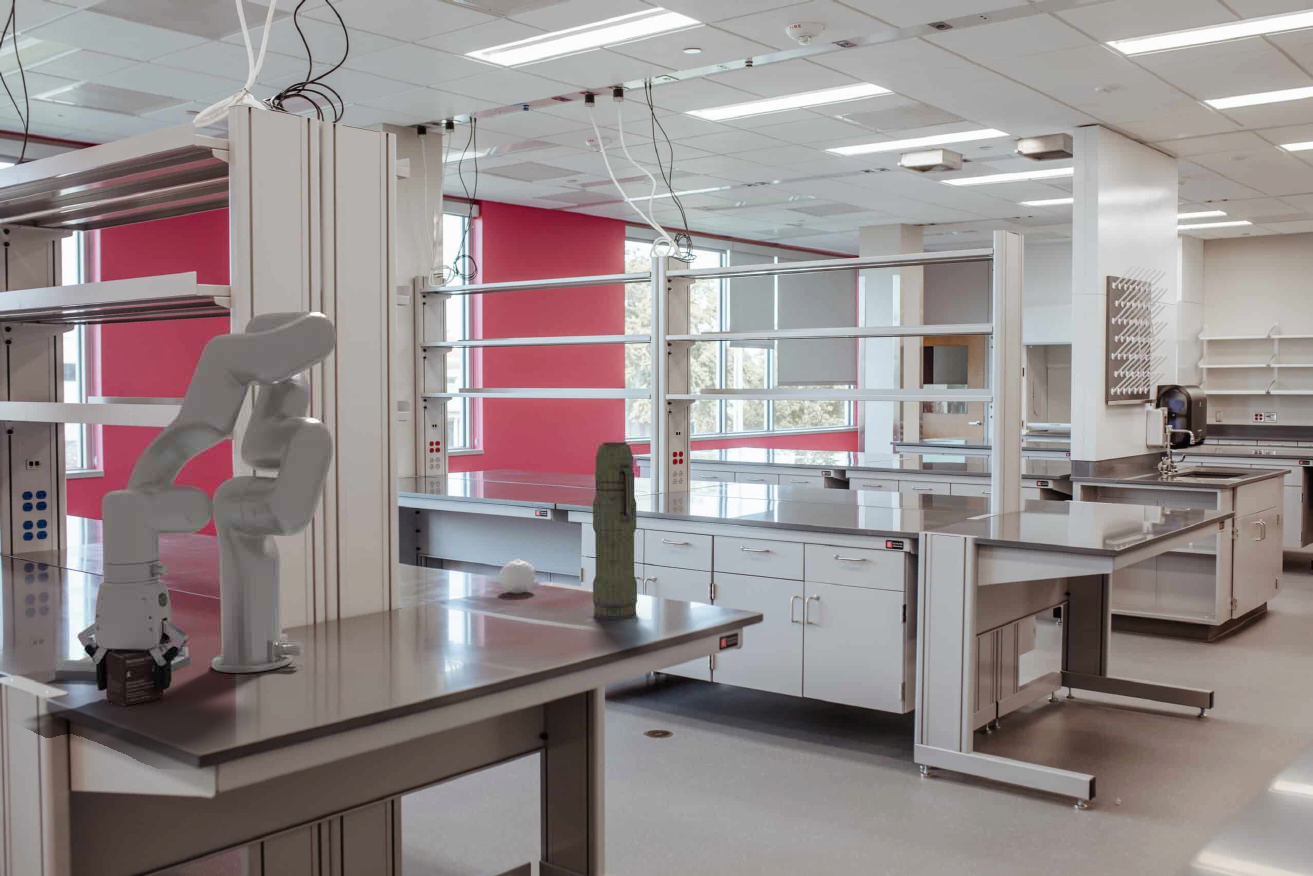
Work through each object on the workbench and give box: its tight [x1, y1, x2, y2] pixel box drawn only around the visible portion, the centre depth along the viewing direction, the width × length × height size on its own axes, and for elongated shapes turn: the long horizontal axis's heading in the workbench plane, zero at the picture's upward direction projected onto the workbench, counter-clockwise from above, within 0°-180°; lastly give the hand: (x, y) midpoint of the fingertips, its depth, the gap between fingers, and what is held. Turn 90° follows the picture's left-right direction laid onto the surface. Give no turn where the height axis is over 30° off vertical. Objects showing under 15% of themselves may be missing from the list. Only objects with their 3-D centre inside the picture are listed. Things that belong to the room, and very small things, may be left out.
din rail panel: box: [54, 646, 191, 682], centre depth 181 cm, size 16×12×3 cm
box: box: [105, 650, 164, 707], centre depth 164 cm, size 6×6×7 cm
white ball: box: [499, 559, 536, 595], centre depth 247 cm, size 8×8×8 cm
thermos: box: [592, 441, 638, 620], centre depth 223 cm, size 9×12×35 cm
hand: (134, 688), depth 164 cm, fingers closed on box, 8 cm apart
